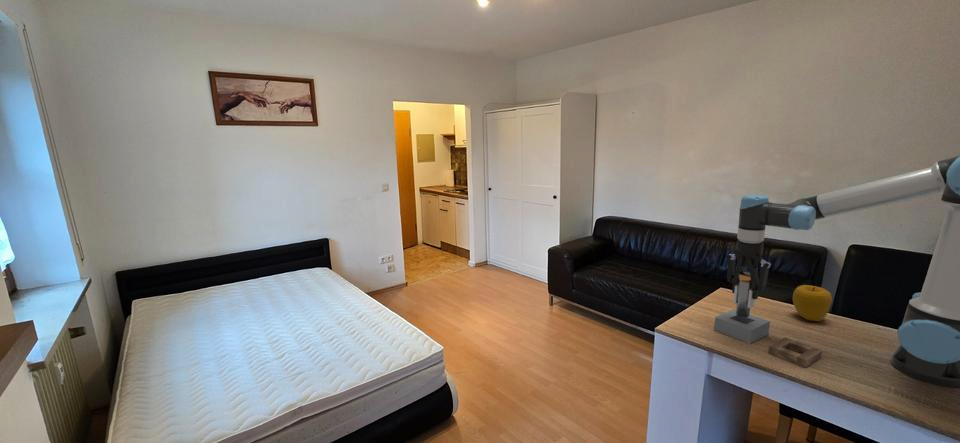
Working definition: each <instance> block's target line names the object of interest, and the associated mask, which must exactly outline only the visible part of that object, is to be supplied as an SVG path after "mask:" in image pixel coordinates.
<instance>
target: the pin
mask: <svg viewBox="0 0 960 443" xmlns="http://www.w3.org/2000/svg"><path fill="white" fill-rule="evenodd" d="M738 279H739V286H738V297H737V303H736V308H735V310H736V314H737V315H738V316H741V317H749V315H751V308H748V299H749V290H750V289H752V284H751V276H750V272H747V271H743V272H742V273H740V274H739V276H738Z"/></svg>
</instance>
